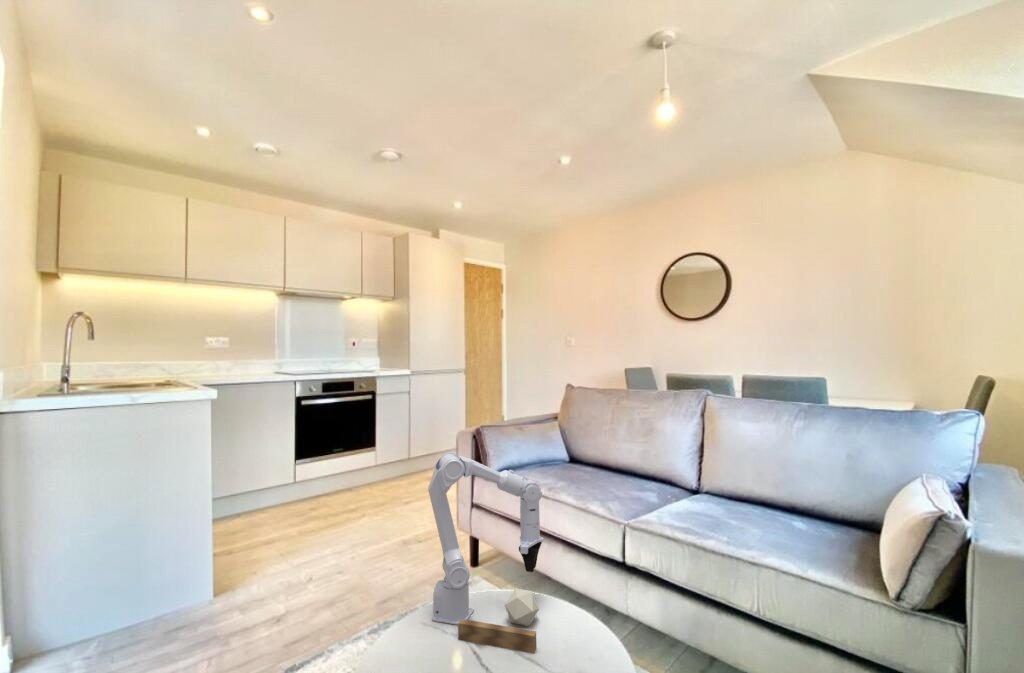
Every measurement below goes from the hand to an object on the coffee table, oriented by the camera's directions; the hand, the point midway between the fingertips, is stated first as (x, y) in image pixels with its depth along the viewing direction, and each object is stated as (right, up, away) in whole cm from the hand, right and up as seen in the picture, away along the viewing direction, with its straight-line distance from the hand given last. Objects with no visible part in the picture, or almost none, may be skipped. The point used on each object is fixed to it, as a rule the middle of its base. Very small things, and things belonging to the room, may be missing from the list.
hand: (530, 569), depth 128 cm
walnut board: (-9, -8, -20) cm, 23 cm away
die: (-3, -9, -10) cm, 14 cm away
